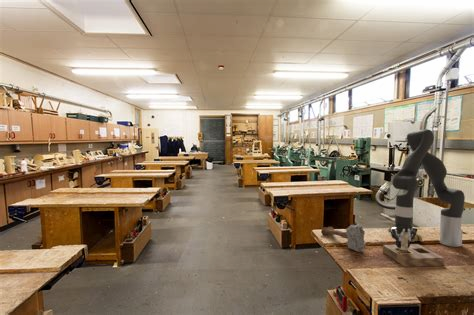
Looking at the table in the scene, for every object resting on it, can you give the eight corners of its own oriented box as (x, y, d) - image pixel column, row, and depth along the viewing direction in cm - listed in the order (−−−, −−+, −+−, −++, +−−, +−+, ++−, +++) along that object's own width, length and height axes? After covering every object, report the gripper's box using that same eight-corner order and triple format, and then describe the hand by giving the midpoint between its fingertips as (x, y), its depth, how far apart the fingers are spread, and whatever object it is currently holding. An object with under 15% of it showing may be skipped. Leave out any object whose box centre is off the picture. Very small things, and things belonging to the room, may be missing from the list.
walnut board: (417, 251, 132) (417, 243, 132) (443, 265, 116) (444, 257, 116) (382, 252, 131) (383, 244, 130) (404, 266, 115) (405, 258, 115)
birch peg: (403, 255, 125) (404, 229, 125) (409, 259, 121) (410, 232, 120) (395, 256, 125) (396, 230, 124) (401, 259, 121) (402, 233, 120)
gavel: (381, 226, 163) (394, 226, 164) (381, 233, 163) (394, 232, 164) (407, 236, 142) (422, 235, 144) (407, 243, 142) (422, 243, 143)
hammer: (334, 237, 159) (372, 249, 131) (322, 242, 156) (358, 256, 127) (328, 216, 159) (365, 223, 131) (316, 220, 156) (351, 229, 128)
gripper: (411, 212, 126) (410, 243, 127) (385, 212, 125) (384, 244, 126) (423, 216, 118) (421, 250, 119) (395, 217, 118) (394, 250, 119)
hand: (402, 247), depth 123 cm, fingers closed on birch peg, 4 cm apart
